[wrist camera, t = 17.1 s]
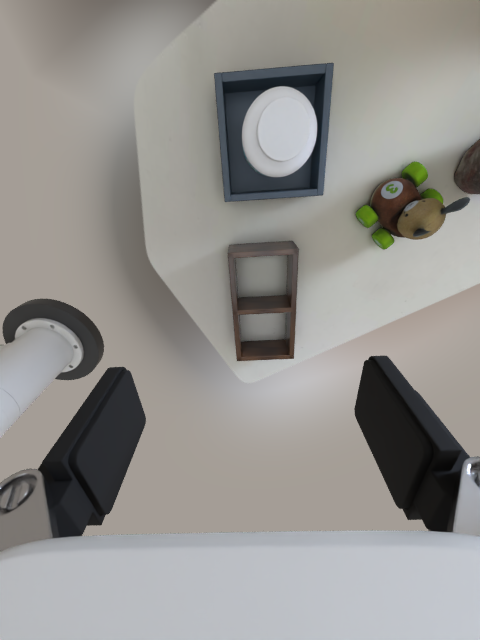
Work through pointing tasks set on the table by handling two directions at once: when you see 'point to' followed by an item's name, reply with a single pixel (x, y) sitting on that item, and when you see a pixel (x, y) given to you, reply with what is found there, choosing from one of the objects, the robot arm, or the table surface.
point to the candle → (469, 170)
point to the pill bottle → (279, 132)
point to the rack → (265, 301)
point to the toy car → (406, 208)
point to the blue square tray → (231, 108)
